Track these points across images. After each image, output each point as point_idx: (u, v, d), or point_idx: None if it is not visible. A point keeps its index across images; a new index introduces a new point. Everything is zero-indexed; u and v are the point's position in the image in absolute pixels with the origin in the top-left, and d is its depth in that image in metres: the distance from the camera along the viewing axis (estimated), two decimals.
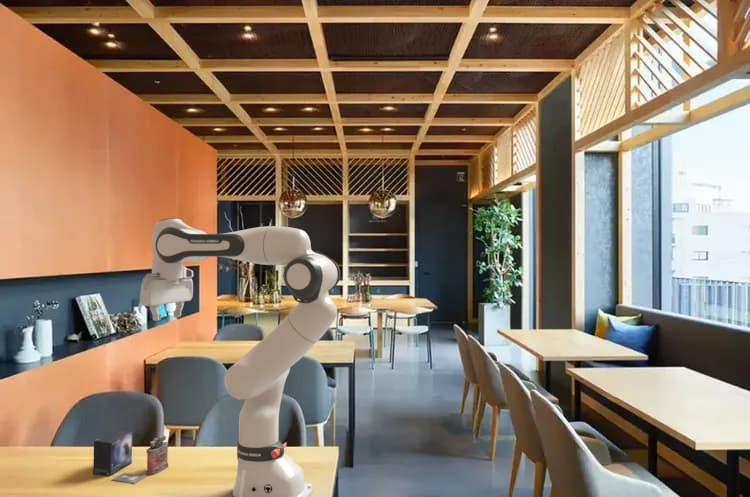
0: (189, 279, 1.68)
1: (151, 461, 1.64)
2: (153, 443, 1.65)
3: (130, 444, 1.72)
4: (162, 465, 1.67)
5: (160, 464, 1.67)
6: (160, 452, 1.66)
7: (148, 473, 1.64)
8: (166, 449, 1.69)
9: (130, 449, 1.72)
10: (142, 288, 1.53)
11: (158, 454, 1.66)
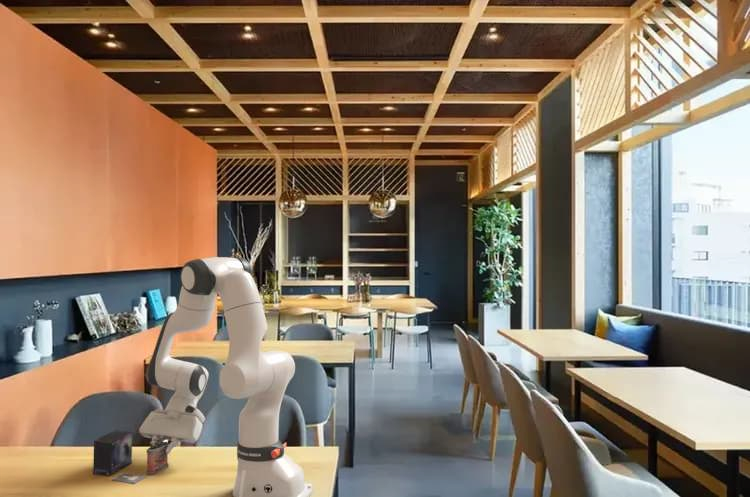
0: (191, 416, 1.72)
1: (151, 461, 1.64)
2: (153, 443, 1.65)
3: (130, 444, 1.72)
4: (162, 464, 1.67)
5: (160, 464, 1.67)
6: (160, 452, 1.66)
7: (148, 473, 1.64)
8: None
9: (130, 449, 1.72)
10: None
11: (158, 454, 1.66)
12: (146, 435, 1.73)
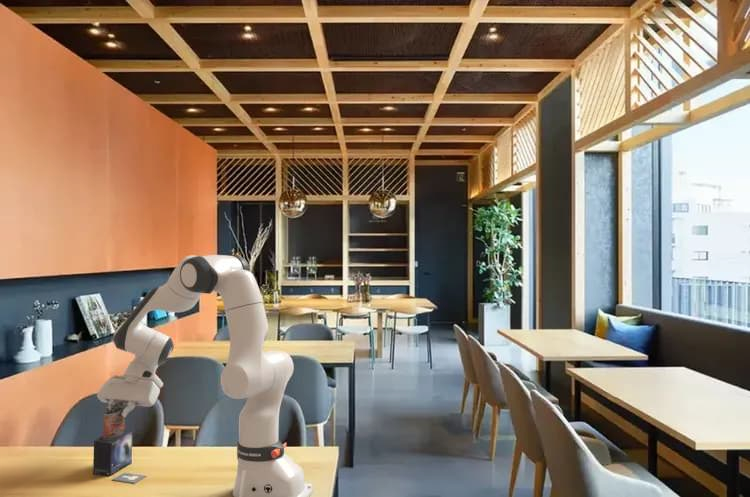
0: (148, 380, 1.73)
1: (107, 425, 1.65)
2: (109, 407, 1.66)
3: (130, 444, 1.72)
4: (118, 429, 1.69)
5: (117, 428, 1.68)
6: (117, 417, 1.68)
7: (104, 437, 1.65)
8: None
9: (130, 449, 1.72)
10: None
11: (115, 419, 1.67)
12: (104, 400, 1.74)
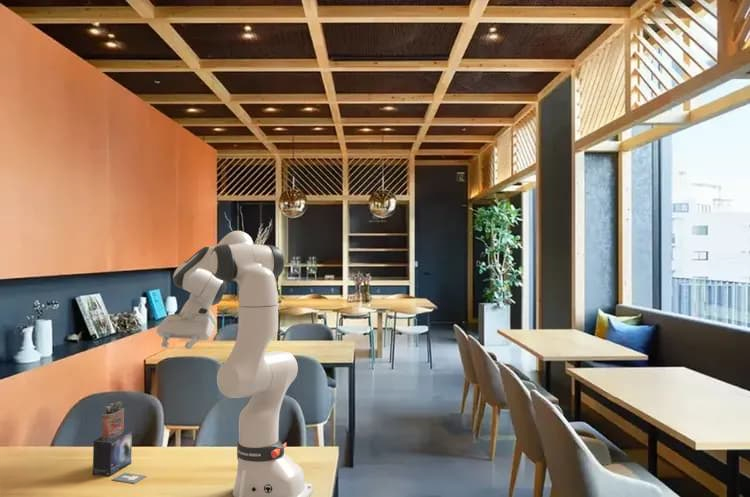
0: (204, 316, 1.88)
1: (107, 426, 1.65)
2: (109, 408, 1.66)
3: (130, 444, 1.72)
4: (117, 429, 1.68)
5: (116, 429, 1.68)
6: (116, 417, 1.68)
7: (104, 437, 1.65)
8: (122, 414, 1.71)
9: (130, 449, 1.72)
10: None
11: (114, 419, 1.67)
12: (163, 334, 1.89)
